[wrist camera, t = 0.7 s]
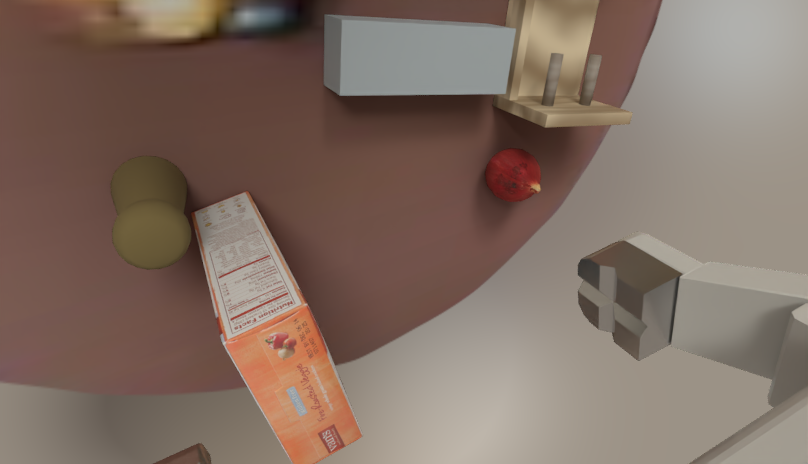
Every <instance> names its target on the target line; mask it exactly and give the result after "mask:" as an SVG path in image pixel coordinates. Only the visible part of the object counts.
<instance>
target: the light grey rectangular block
mask: <svg viewBox="0 0 808 464" xmlns="http://www.w3.org/2000/svg"><path fill="white" fill-rule="evenodd" d="M515 33H516V29H515V28H509V27H504V26H498V25H493V24H486V23H468V22H450V21H432V20H414V19H396V18H379V17H361V16H343V15H325V23H324V85H325V86H326V87H328V88H329V89H331V90H332V91H334V92H335V93H337V94H338V95H340V96H360V95H460V94H506V88H507V82H508V76H509V70H510V63H511V57H512V51H513V45H514V39H515Z"/></svg>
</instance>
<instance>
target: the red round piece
mask: <svg viewBox="0 0 808 464" xmlns="http://www.w3.org/2000/svg"><path fill="white" fill-rule="evenodd" d="M485 176H486V181H487V186H488V187H489V188H490V190H491V191H492V192H493V193H494V195H495V196H497V197H498V198H500V199H503V200H505V201H508V202H517V201H523V200H525V199H527V198H529V197H531V196H532V195H533V194H534V193H536V194H538V193H539V192H540V191H541V188H540V185H539V184H540V180H541V173H540V167H539V165H538V163H537V161H536V159H535V158H534V156H532V155H531V154H529V153H528V152H526V151H524V150H523V149H516V148H509V149H506V150H502V151H499V152H498V153H497V154H496V155H494V156H493V157H492V158H491V160H490V161H489V163H488V164H487V168H486V172H485Z"/></svg>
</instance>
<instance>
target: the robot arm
mask: <svg viewBox="0 0 808 464" xmlns="http://www.w3.org/2000/svg"><path fill="white" fill-rule="evenodd" d="M578 276H579V277H581V278H582V279H583V282H582V284H581V286H580V288H579V290H578V302H579V305H580V307H581V310H582V312H583V314H584V315H585V317H586V318H587V319H588V320H589V322H590V323H591V324H593V325H594V326H595V327H596V328H597V329H599V330H603V331H607V332H612V334H613V339H614V342H615V343H616V344H617V345H619V346H620V347H621V348H622V349H624V350H625V351H626V352H628V353H629V354H630V355H631V356H633V357H634V358H635V359H636V360H638V361H640V360H642V359H644V358H646V357H647V356H649V355H651V354H653V353H655V352H657V351H659V350H661V349H663V348H664V347H666V346H668V345H670V344H671V347H674V348H677V349H680V350H683V351H686V352H689V353H692V354H695V355H698V356H702V357H705V358H708V359H711V360H714V361H717V362H720V363H723V364H726V365H729V366H732V367H735V368H738V369H741V370H744V371H748V372H750V373H753V374H756V375H760V376H763V377H766V378H769V379H772V383H771V386H770V390H769V394H768V403H769V405H771V406H772V407H774V408H773V409H771V410H770V411H768V412H767V413H765V414H764V415H762V416H761V417H759V418H758V419H756V420H755V421H753V422H751V423H750V424H748V425H747V426H746V427H744V428H742V429H741V430H739V431H738V432H736V433H735V434H733V435H732V436H730V437H729V438H727V439H726V440H724V441H723V442H721V443H720V444H718V445H716V446H715V447H713V448H712V449H710V450H709V451H707V452H706V453H704V454H703V455H701V456H700V457H698V458H697V459H695V460H693V461H692V462H690V463H689V464H808V275H805V274H797V273H790V272H783V271H775V270H767V269H759V268H753V267H746V266H738V265H731V264H724V263H716V262H707V263H705V264H702V263H701V262H699V261H697V260H695V259H693V258H691V257H689V256H687V255H685V254H684V253H682V252H680V251H678V250H676V249H674V248H672V247H670V246H669V245H667V244H665V243H663V242H661V241H659V240H657V239H655V238H654V237H652V236H650V235H648V234H646V233H643V232H635V233H633V234H631V235H629V236H627V237H625V238H623V239H621V240H619V241H618V242H615V243H613V244H611V245H609V246H607V247H605V248H603V249H601V250H599V251H597V252H595V253H592V254H590V255H588V256H586V257H584V258H582V259H581V260H580V262H579V264H578ZM154 464H211V458H210V454H209V453H208V451H207V450H206V448H205V447H204V445H203V444H202V443H198V444H196V445H193V446H191V447H189V448H187V449H185V450H182V451H180V452H178V453H176V454H174V455H171V456H169V457H167V458H165V459H163V460H160V461H158V462H156V463H154Z"/></svg>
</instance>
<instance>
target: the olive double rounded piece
mask: <svg viewBox="0 0 808 464" xmlns="http://www.w3.org/2000/svg"><path fill="white" fill-rule="evenodd" d="M111 195H112V199H113V202H114V205H115V208H116V211H117V215H118V217H117V218H116V220H115V223H114V226H113V229H112V239H113V244H114V246H115V248H116V250H117V252H118V254H119V255H120V256H121V257H122V258H123V259H124V260H125V261H126V262H127V263H129V264H131V265H133V266H135V267H138V268H143V269H161V268H164V267H167V266H171V265H172V264H174V263H175V262H177V261H178V260H180V259H181V258H182V256H183V255H184V254H185V253H186V251H187V249H188V247H189V244H190V241H191V227H190V225H189V222H188V219H187V217H186V216H185V215H184V209H185V203H186V197H187V183H186V180H185V178H184V175H183V174H182V172H181V171H180V170H179V169H178V168H177V166H175V165H174V164H172V163H171V162H169V161H168V160H165V159H162V158H159V157H156V156H141V157H137V158H133V159H130V160H128V161H127V162H125V163H123V164H122V165H121V166H120V167H119V168H118V169H117V170H116V172H115V173H114V175H113V178H112V181H111Z"/></svg>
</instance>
